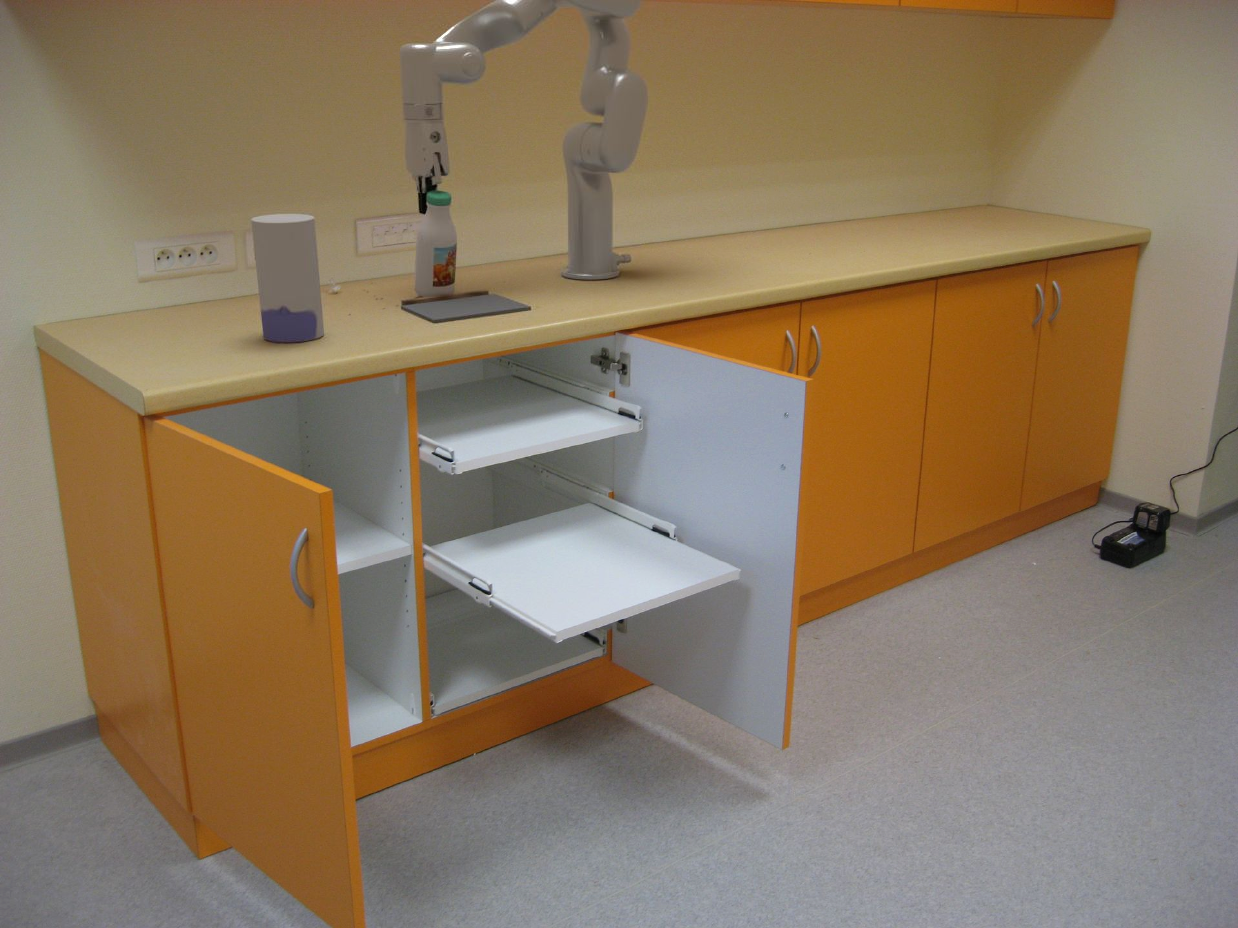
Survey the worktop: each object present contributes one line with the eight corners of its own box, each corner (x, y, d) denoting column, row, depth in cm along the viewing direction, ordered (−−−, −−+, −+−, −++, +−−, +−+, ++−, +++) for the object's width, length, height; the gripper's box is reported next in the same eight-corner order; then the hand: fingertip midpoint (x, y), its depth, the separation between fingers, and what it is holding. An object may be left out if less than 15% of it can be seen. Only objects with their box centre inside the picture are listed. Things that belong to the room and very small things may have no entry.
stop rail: (485, 295, 228) (485, 289, 227) (488, 296, 227) (488, 290, 226) (401, 306, 218) (401, 300, 218) (404, 307, 217) (404, 301, 217)
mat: (495, 296, 227) (494, 293, 226) (531, 309, 216) (531, 306, 216) (401, 309, 216) (400, 305, 216) (434, 323, 205) (433, 320, 205)
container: (329, 329, 201) (319, 213, 194) (317, 343, 191) (306, 221, 184) (271, 329, 200) (259, 213, 193) (256, 343, 191) (243, 221, 184)
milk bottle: (416, 300, 222) (420, 199, 212) (412, 284, 228) (416, 186, 218) (456, 301, 224) (462, 201, 214) (451, 285, 230) (456, 188, 220)
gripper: (459, 115, 211) (463, 216, 217) (424, 111, 223) (429, 207, 229) (421, 116, 207) (427, 219, 213) (388, 112, 219) (394, 210, 225)
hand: (428, 213), depth 221 cm, fingers closed
